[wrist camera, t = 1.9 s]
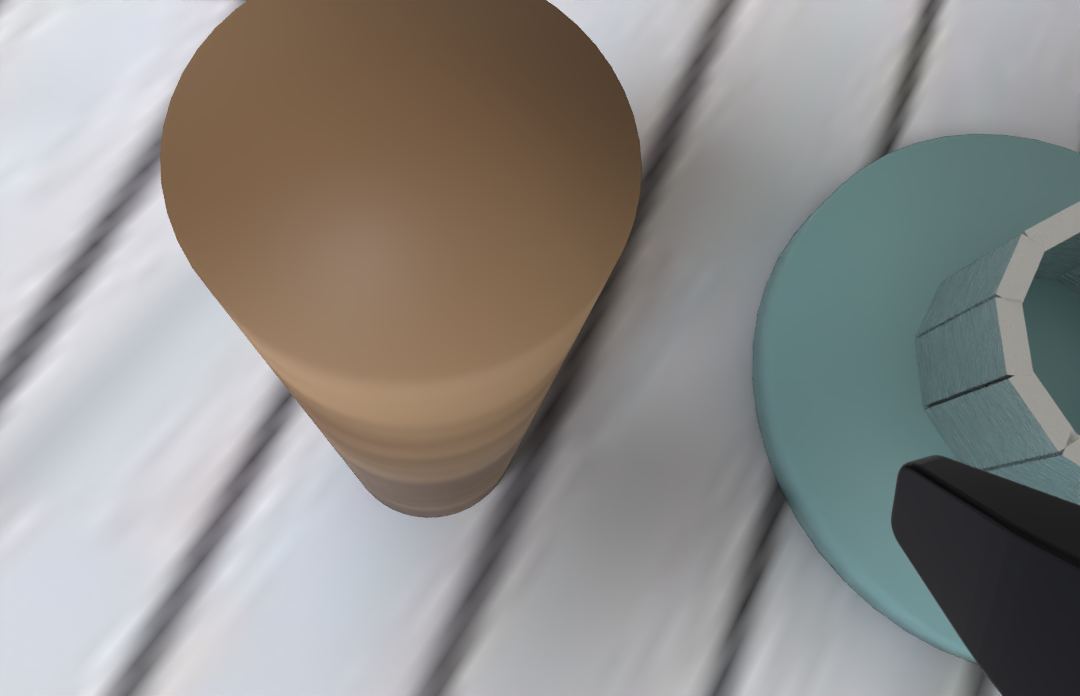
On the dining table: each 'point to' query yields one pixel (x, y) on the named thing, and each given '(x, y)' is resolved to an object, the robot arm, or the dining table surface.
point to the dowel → (405, 218)
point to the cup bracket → (923, 347)
